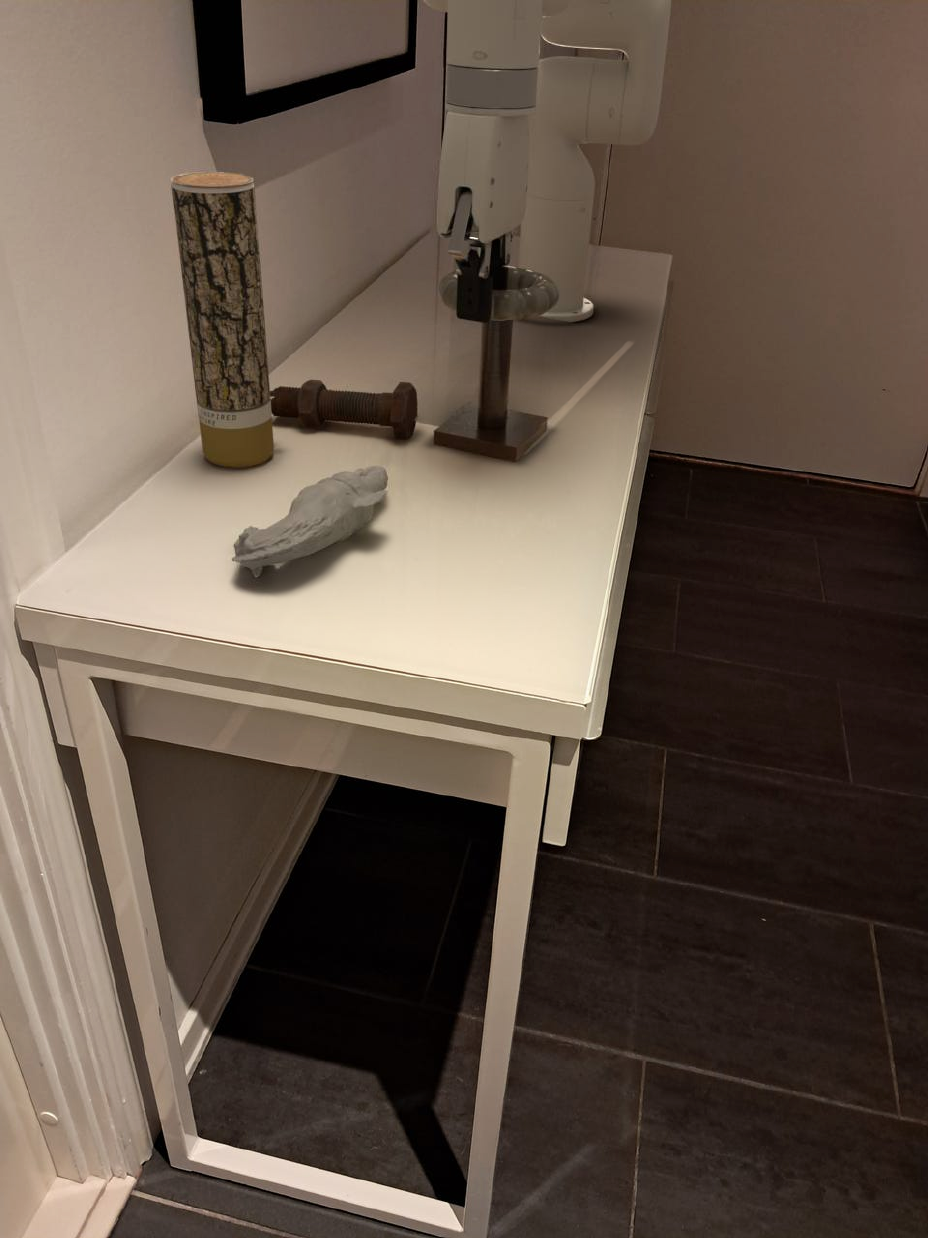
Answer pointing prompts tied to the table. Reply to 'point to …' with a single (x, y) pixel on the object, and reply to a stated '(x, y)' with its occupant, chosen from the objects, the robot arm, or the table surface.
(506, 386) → the post
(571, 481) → the table surface
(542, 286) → the bracelet
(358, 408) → the bolt
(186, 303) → the paper tube
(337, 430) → the table surface
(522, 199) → the robot arm
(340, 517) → the grey figurine
